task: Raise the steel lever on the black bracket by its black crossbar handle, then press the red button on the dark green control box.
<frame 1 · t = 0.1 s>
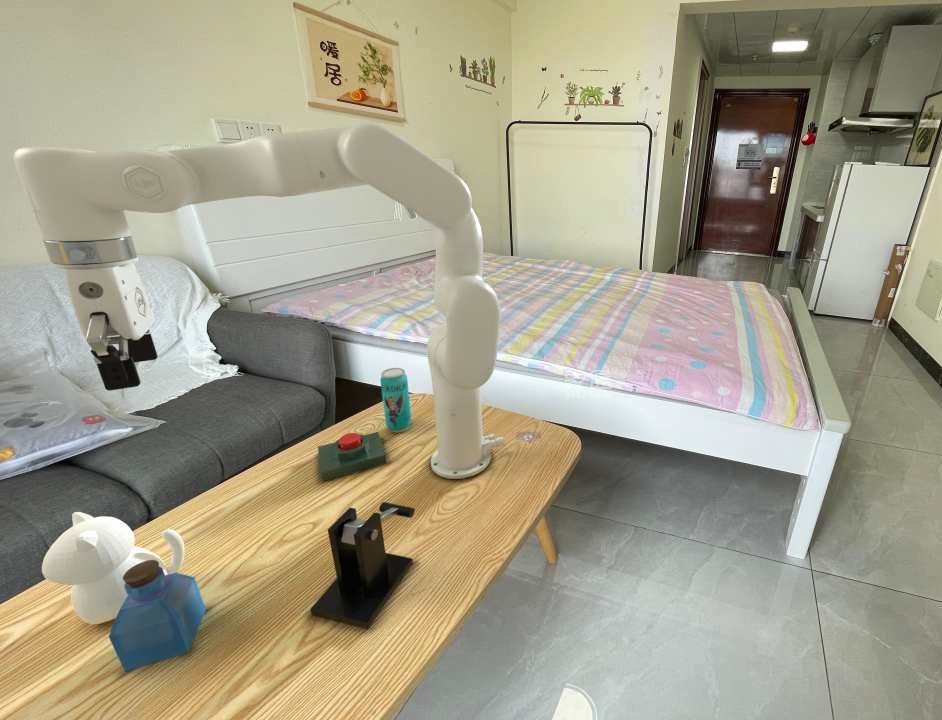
hand: (134, 373, 61), 31 cm above the table, tool pointing down, fingers open, 9 cm apart
beverage can: (399, 428, 106), on the table
control box: (352, 459, 94), on the table
button: (350, 441, 92), point 4 cm above the table, slide at 0.1 cm
bracket: (365, 588, 66), on the table
lever: (376, 520, 67), point 9 cm above the table, hinge at -25.0°
cat figurine: (136, 597, 63), on the table
perfume bottle: (168, 639, 57), on the table
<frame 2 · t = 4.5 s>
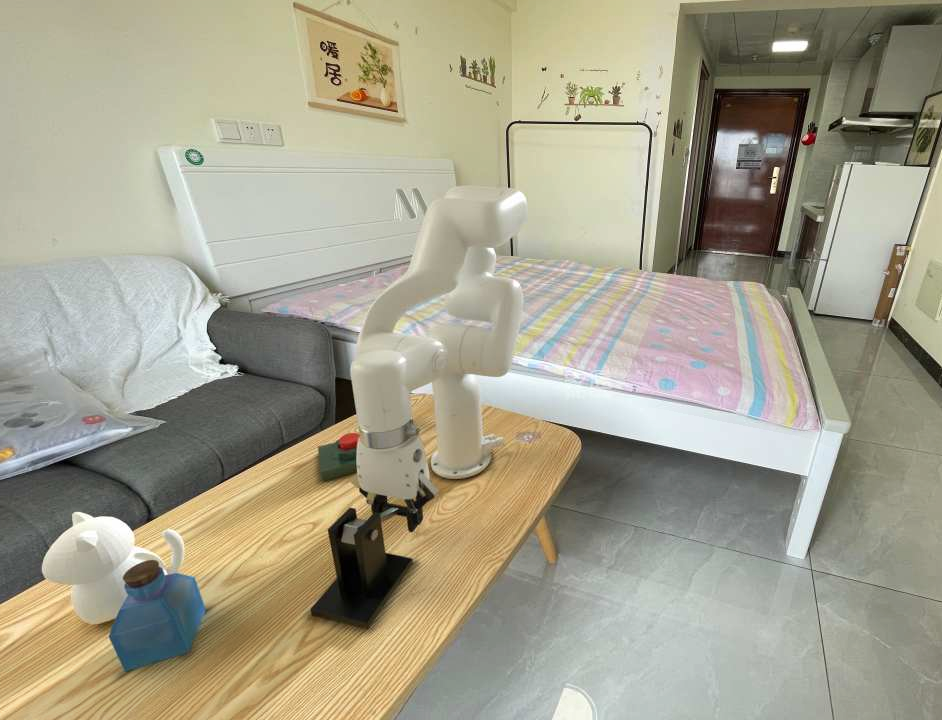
hand: (398, 521, 73), 4 cm above the table, tool pointing down, fingers closed on lever, 5 cm apart
lever: (376, 520, 67), point 9 cm above the table, hinge at -25.0°, touching gripper
everything else where it was.
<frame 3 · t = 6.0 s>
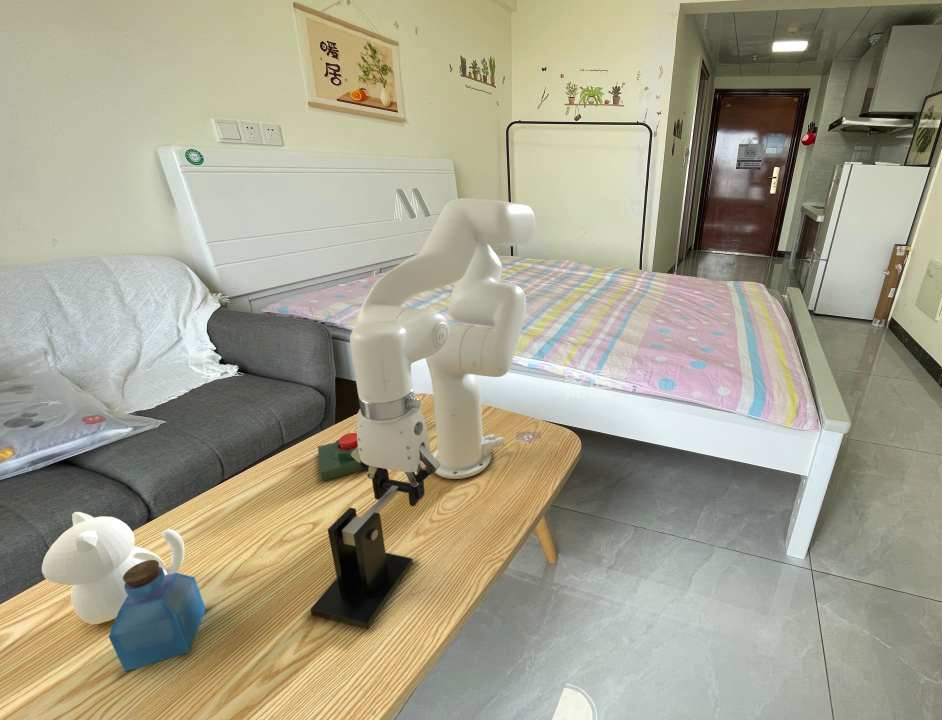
hand: (399, 496, 72), 9 cm above the table, tool pointing down, fingers closed on lever, 5 cm apart
lever: (377, 508, 66), point 11 cm above the table, hinge at -0.7°, touching gripper
everything else where it was.
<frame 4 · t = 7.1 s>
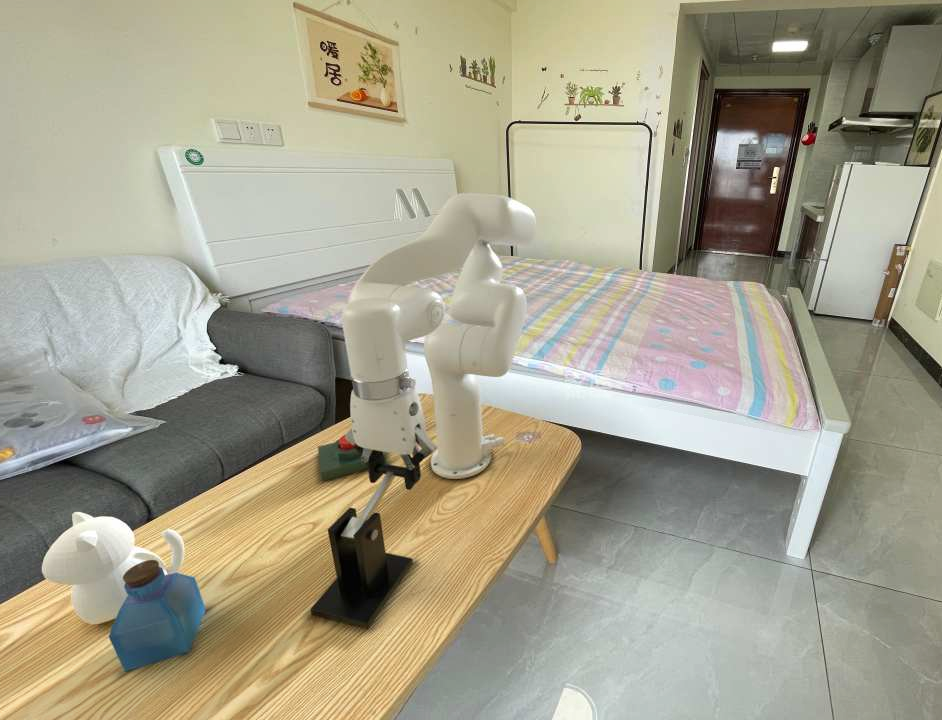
hand: (395, 479, 70), 12 cm above the table, tool pointing down, fingers closed on lever, 5 cm apart
lever: (374, 500, 65), point 13 cm above the table, hinge at 19.8°, touching gripper
everything else where it was.
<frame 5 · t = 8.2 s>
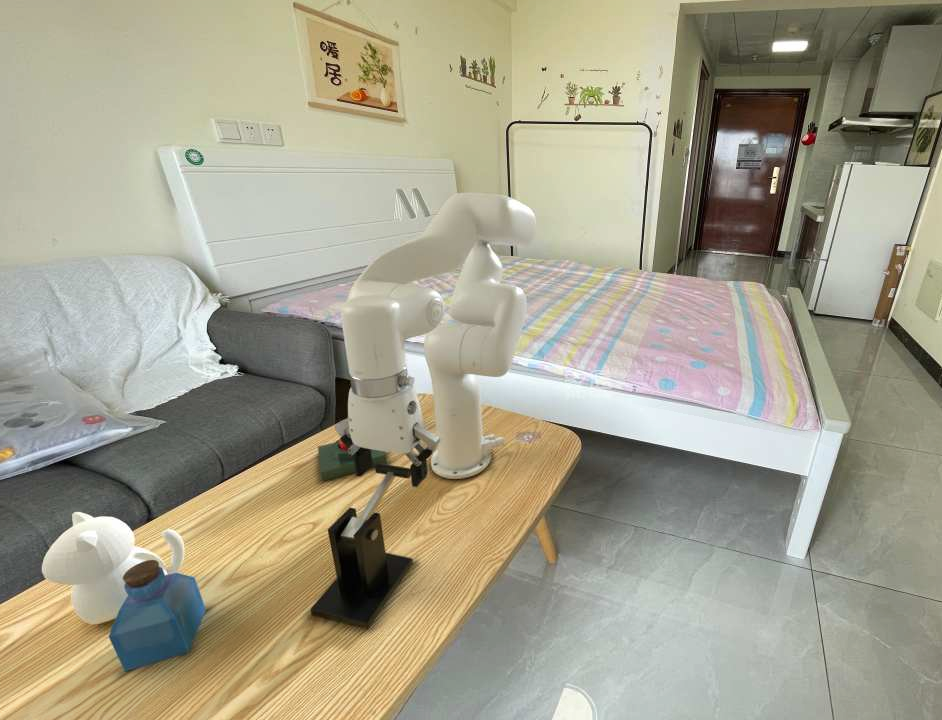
hand: (392, 476, 69), 14 cm above the table, tool pointing down, fingers open, 9 cm apart
lever: (374, 501, 65), point 13 cm above the table, hinge at 19.3°
everything else where it was.
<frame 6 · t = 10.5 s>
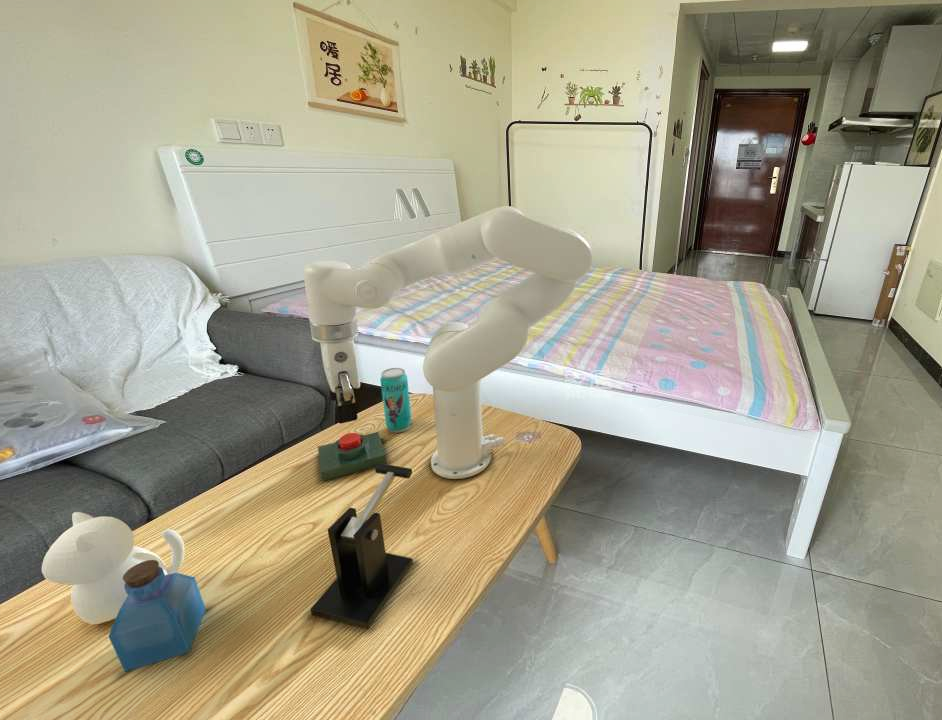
hand: (343, 409, 86), 14 cm above the table, tool pointing down, fingers open, 9 cm apart
nothing on the table moved.
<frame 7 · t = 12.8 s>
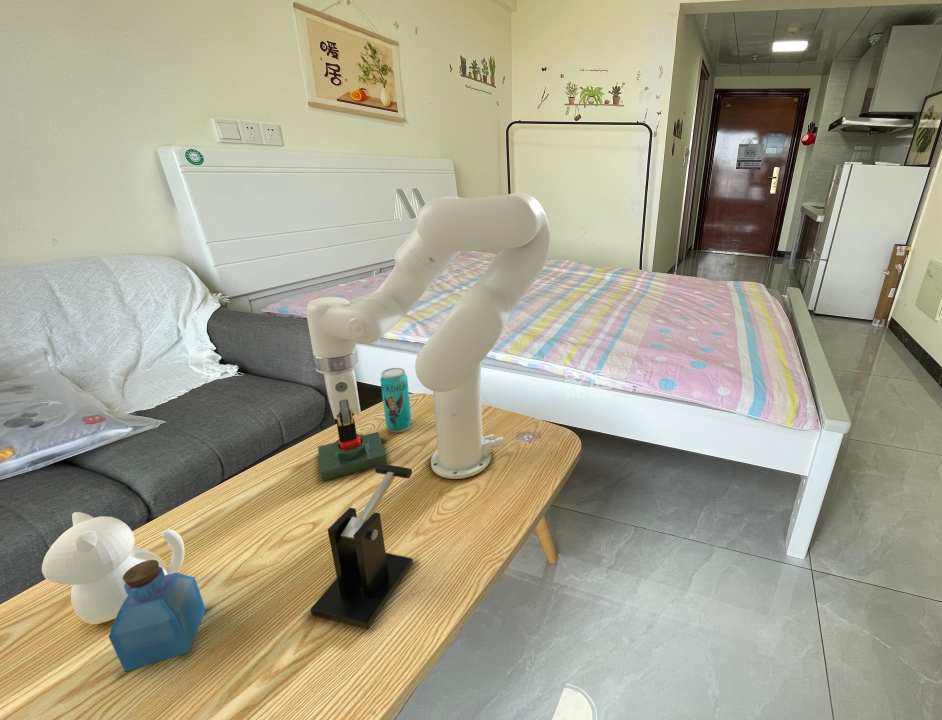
hand: (348, 438, 92), 5 cm above the table, tool pointing down, fingers closed
button: (350, 441, 92), point 4 cm above the table, slide at 0.0 cm, touching gripper
everything else where it was.
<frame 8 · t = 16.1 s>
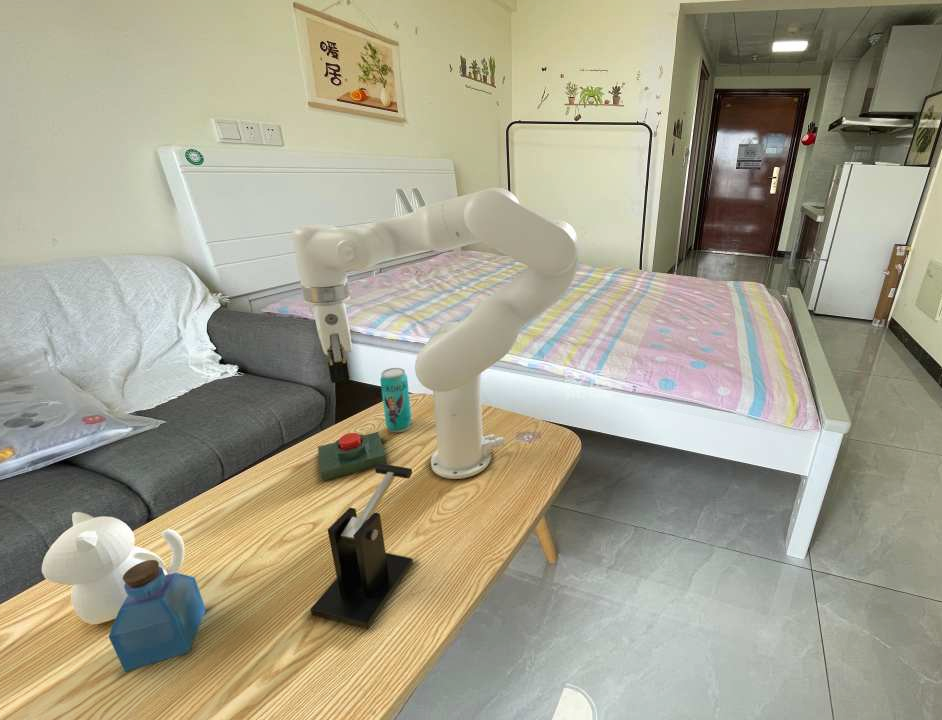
hand: (340, 380, 88), 19 cm above the table, tool pointing down, fingers closed
button: (350, 441, 92), point 4 cm above the table, slide at 0.1 cm
everything else where it was.
at the end: lever at +19° (first picture: -25°); button pushed in 1.1 cm at the most during the clip, back to where it started at the end; button slide at 0.1 cm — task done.
